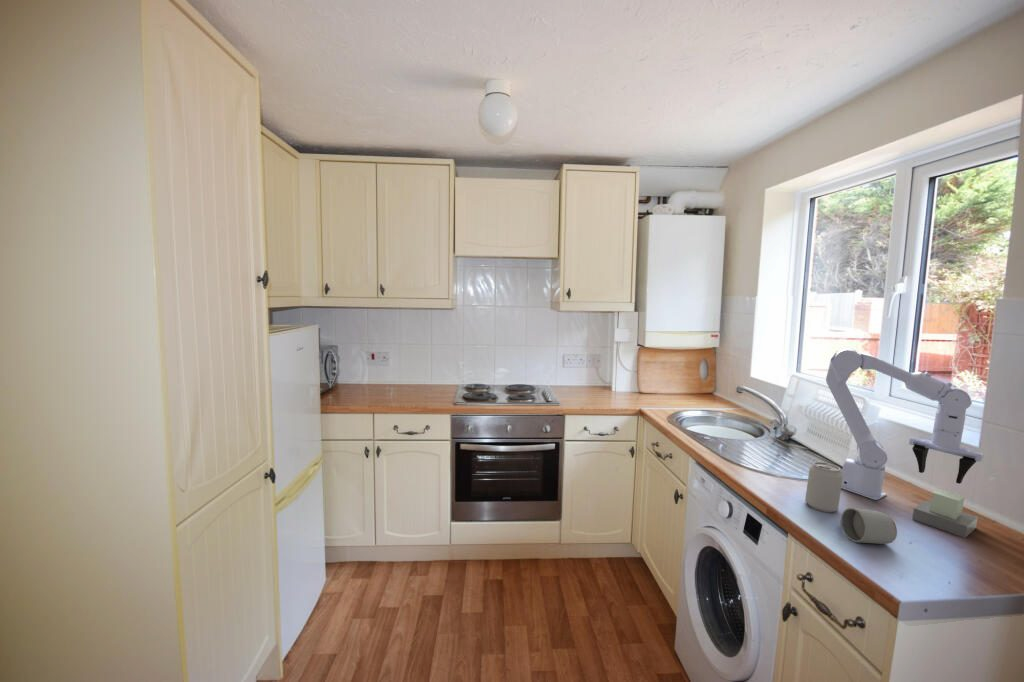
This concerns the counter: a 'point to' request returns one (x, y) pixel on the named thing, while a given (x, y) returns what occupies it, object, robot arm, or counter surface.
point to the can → (824, 486)
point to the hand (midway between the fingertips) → (939, 477)
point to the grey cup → (868, 526)
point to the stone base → (945, 520)
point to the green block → (946, 503)
